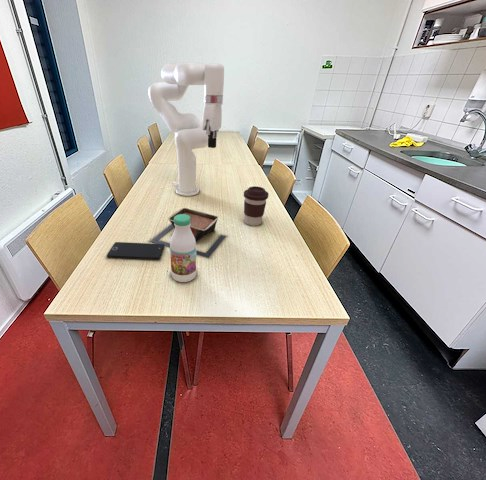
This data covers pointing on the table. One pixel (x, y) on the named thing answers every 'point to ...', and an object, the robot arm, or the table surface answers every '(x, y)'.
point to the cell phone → (136, 250)
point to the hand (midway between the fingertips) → (212, 147)
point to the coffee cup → (254, 205)
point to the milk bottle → (183, 250)
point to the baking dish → (197, 222)
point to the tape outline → (207, 254)
